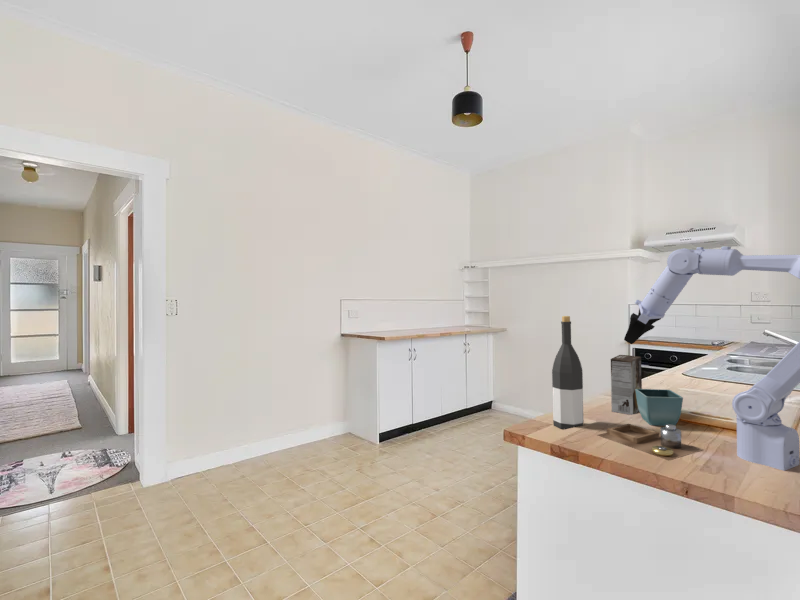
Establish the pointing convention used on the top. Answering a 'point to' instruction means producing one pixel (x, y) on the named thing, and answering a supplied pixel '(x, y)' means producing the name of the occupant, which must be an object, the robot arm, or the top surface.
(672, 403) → the flower pot
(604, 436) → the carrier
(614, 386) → the coffee box
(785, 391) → the robot arm
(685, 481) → the top surface
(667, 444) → the silver knobbed cylinder
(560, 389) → the wine bottle
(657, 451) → the brass domed disc
